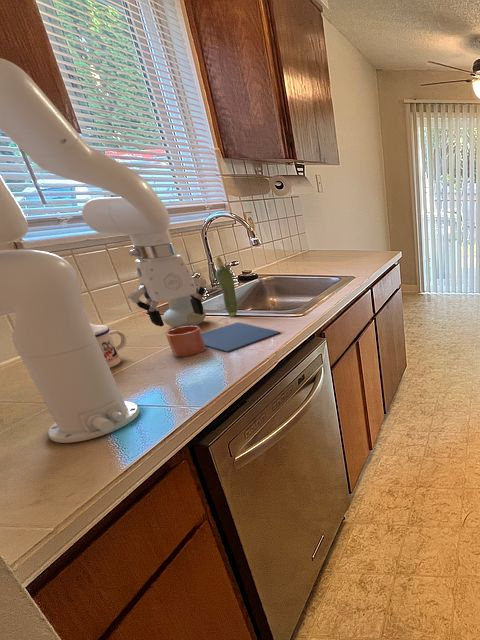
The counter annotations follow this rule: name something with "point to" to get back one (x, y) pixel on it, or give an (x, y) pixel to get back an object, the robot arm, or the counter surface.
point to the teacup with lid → (108, 343)
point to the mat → (235, 336)
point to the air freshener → (182, 313)
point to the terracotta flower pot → (185, 340)
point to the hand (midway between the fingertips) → (180, 319)
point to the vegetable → (226, 287)
